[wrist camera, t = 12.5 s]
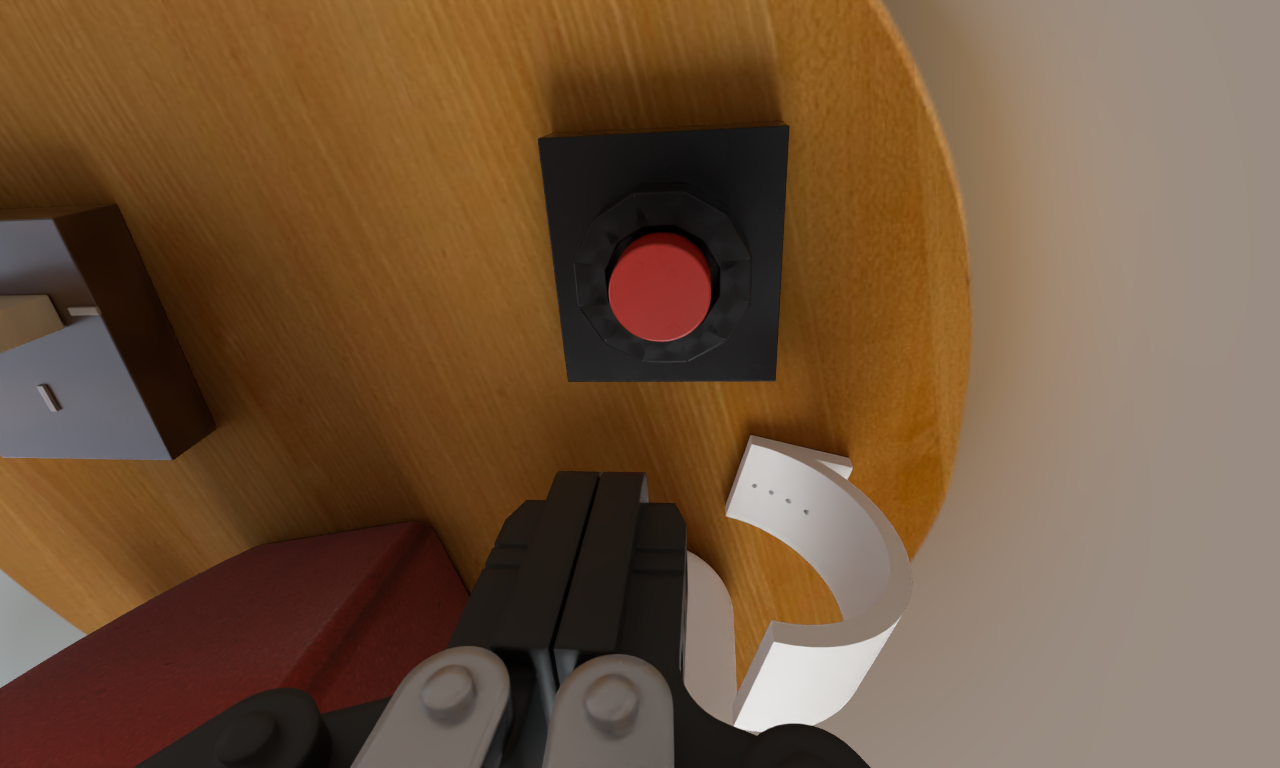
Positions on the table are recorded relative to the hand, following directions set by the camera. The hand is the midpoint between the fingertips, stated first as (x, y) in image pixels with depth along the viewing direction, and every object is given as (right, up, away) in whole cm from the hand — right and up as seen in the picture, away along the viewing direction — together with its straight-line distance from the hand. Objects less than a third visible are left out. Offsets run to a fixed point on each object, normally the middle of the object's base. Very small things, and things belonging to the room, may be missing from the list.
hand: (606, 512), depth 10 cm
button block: (+2, +8, +15) cm, 17 cm away
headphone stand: (+8, -3, +20) cm, 22 cm away
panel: (-28, +5, +20) cm, 35 cm away
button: (+1, +6, +12) cm, 13 cm away
